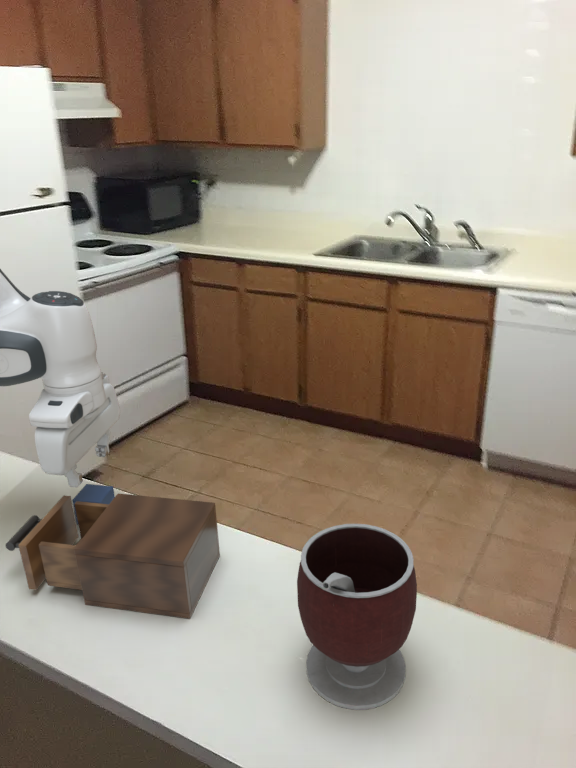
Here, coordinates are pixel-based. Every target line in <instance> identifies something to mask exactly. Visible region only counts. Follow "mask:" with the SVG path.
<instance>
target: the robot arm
mask: <svg viewBox="0 0 576 768" xmlns="http://www.w3.org/2000/svg"><path fill="white" fill-rule="evenodd" d="M97 350H98V345H97V338H96V334H95V329H94V326H93V322H92V317H91V315H90V311H89V309H88V307H87V305H86V303H85V302H84V300H83V299H82V298H81V297H79V296H78V295H75V294H73V293H71V292H67V291H61V290H49V291H42V292H38V293H35V294H33V295H32V296H31V297H30V296H28V295H26V294H25V293H24V292H22V291H21V290H20V289H19V288H18V287H17V286H16V285H15V284H14V283H13V282H12V281H11V279H10V278H9V277H8V275H6V274H5V272H4V271H3V270H2V269H1V268H0V387H10V386H16V385H20V384H25V383H28V382H33V381H36V380H38V379H41V380H42V385H43V389H42V390H41V391H40V394H39V397H38V398H37V401H36V403H35V404H34V406H33V407H32V409H31V410H30V412H29V414H28V421H29V424H30V426H31V427H36V428H35V430H34V445H35V450H36V455H37V458H38V459H37V460H38V462H39V466H40V469H41V470H42V472H43V473H45V474H47V475H52V476H64V477H65V478H66V480H67V485H68V486H69V487H70V488H79V487H80V485H81V484H83V482H84V479H83V474H82V473H81V472H78V471H77V469H78V466H77V464H78V463H79V462H80V461H81V460H82V459H83V458H84V456H85V455H86V454H87V453H88V452H89V451H90V450H91V449H92V448H93V447H94V446H95V447H94V450H95V456H96V457H98V458H105V457H107V455H108V454H110V446H109V443H110V436H111V428H112V427H113V426H114V425H115V424H116V423H117V422H118V421H119V420H120V416H121V408H120V404H119V403H120V402H119V400H118V396H117V393H116V389H115V387H114V385H113V384H111V381H110V378H109V375H108V374H106V373H104V372H102V369H101V366H100V364H99V362H98V360H97Z"/></svg>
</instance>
